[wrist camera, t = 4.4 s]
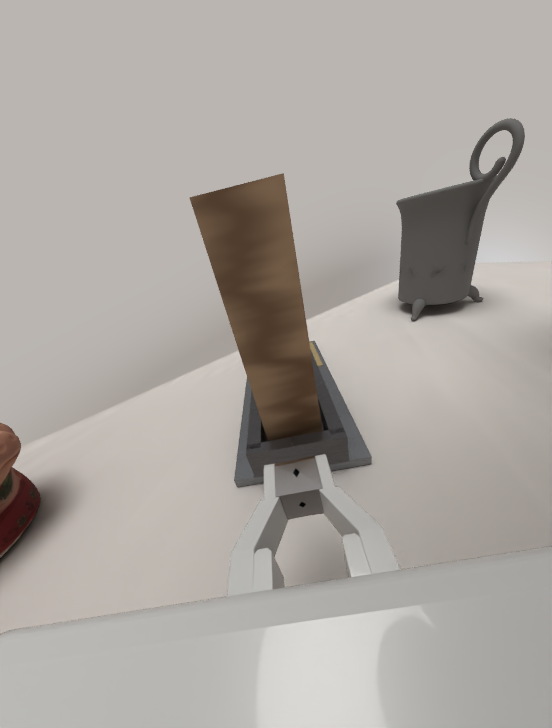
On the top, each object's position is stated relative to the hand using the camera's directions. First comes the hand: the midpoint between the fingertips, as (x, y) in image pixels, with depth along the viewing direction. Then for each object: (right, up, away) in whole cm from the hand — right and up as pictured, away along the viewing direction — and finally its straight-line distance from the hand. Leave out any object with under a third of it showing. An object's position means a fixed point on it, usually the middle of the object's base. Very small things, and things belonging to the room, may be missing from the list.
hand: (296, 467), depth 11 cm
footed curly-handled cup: (+30, +16, +35) cm, 49 cm away
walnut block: (+1, -1, +13) cm, 13 cm away
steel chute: (+1, +1, +20) cm, 20 cm away
